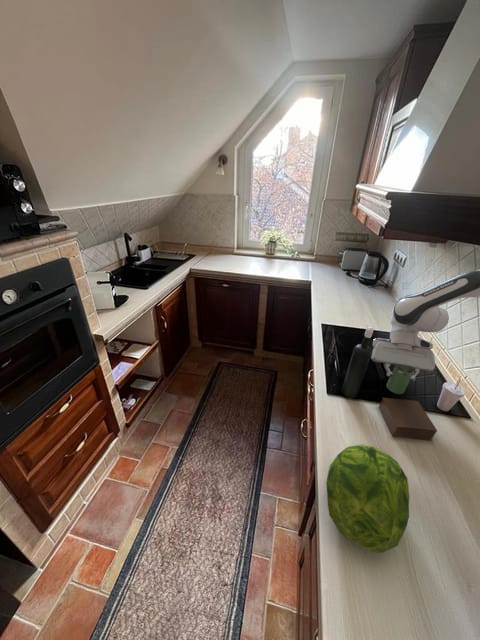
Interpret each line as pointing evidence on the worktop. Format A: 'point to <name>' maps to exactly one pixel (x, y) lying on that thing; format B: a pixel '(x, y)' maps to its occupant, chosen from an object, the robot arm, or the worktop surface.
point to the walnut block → (406, 419)
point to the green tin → (400, 378)
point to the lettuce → (368, 497)
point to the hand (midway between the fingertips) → (400, 378)
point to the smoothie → (450, 395)
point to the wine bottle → (357, 366)
